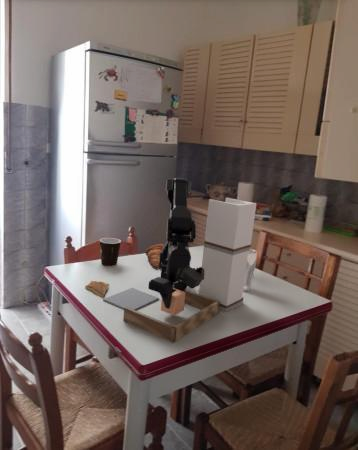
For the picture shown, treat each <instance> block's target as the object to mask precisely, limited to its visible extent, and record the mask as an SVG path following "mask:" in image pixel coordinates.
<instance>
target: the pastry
mask: <svg viewBox="0 0 358 450" xmlns="http://www.w3.org/2000/svg"><path fill="white" fill-rule="evenodd" d="M164 244H165V243H164ZM164 244H163V243H157V244H155V245H152V246H151V245H150V246H149V247H148V248H147V249H146V251H145V255H146V257H147V261H148V262H149V264H150V266H151V267H152V268H153V269H157V270H158V269H160V270H161V268H159V257H160V252H162V247H163V245H164ZM161 263H162V262H161Z"/></svg>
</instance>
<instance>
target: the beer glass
mask: <svg viewBox="0 0 358 450" xmlns="http://www.w3.org/2000/svg"><path fill="white" fill-rule="evenodd" d="M257 257H258V251H257V250H256V249H254V248H253V249H252V248H250V254H248V257H247V264H246V272H245V279H244V286H243V292H248V291H249V292H250V291H251V290H252V278H253V276H254V272H255V269H256V264H257Z"/></svg>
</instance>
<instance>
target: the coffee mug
mask: <svg viewBox="0 0 358 450" xmlns="http://www.w3.org/2000/svg"><path fill="white" fill-rule="evenodd" d="M121 244H122V240H121V239H118V238H115V237H114V238H113V237H104V238H100V239H99V248H100V249H99V250H100V262H101V263H100V264H101V265H102V266H104V267H115V266H117V265H118V260H119V255H120V250H121V249H120V248H121Z"/></svg>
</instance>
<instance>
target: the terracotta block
mask: <svg viewBox="0 0 358 450" xmlns="http://www.w3.org/2000/svg"><path fill="white" fill-rule="evenodd" d="M173 289H175V288H173ZM175 290H176V291H175V292H174V293H173V294H172V298H171V304H170V308H169V309H167V308H166V307H165V305H164V302H163V300H162V299H161V305H160V311H162V312H164V313H166V314H169V315H171V316H176V315H178V314H180V313H182V312H184V309H185V302H184V301H185V292H183V291H181V290H178V289H175Z"/></svg>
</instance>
